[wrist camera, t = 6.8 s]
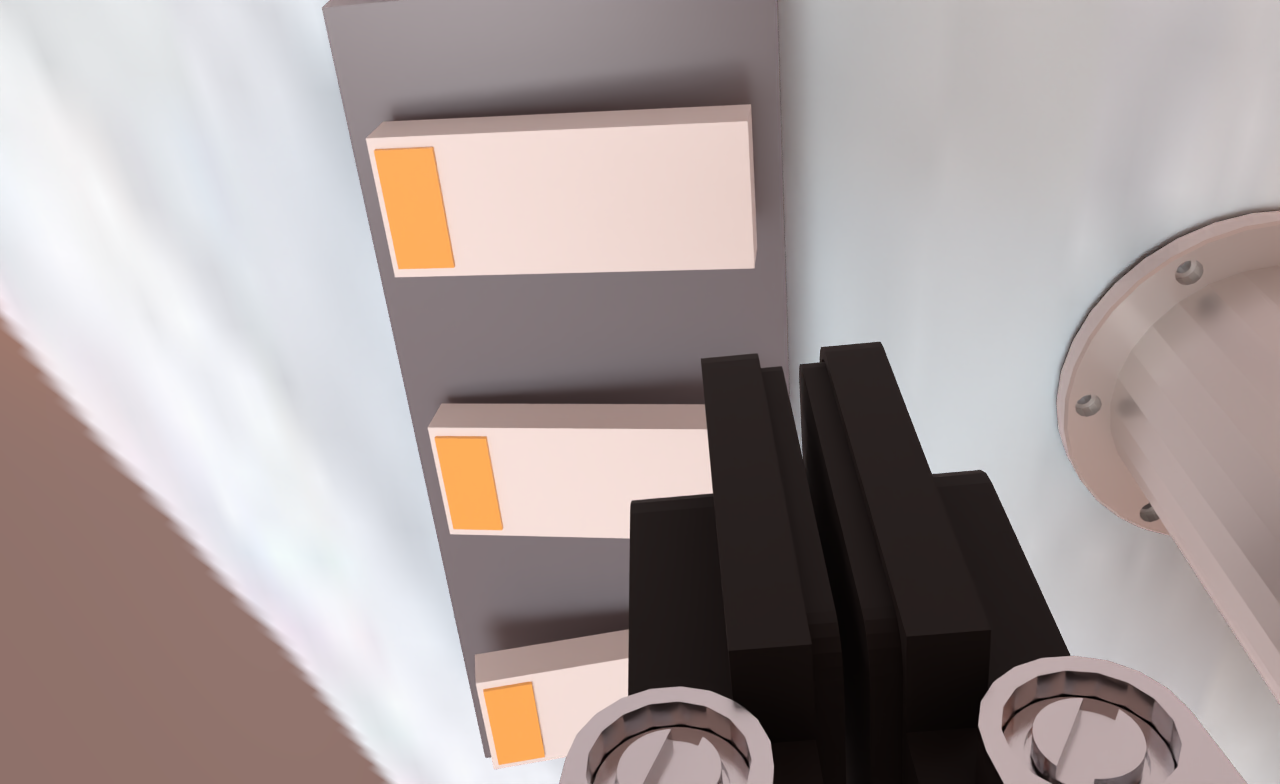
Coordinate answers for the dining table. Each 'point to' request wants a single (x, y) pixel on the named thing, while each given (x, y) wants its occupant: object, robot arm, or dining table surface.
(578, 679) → the rocker far
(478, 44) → the grey switch panel
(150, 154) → the dining table surface
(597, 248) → the rocker near
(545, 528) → the rocker middle
